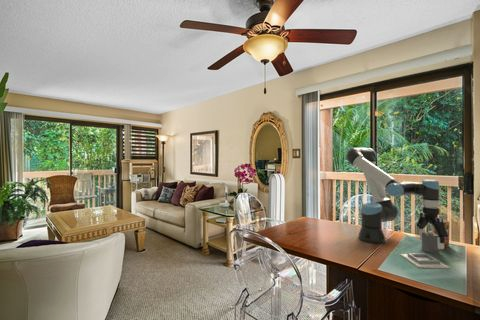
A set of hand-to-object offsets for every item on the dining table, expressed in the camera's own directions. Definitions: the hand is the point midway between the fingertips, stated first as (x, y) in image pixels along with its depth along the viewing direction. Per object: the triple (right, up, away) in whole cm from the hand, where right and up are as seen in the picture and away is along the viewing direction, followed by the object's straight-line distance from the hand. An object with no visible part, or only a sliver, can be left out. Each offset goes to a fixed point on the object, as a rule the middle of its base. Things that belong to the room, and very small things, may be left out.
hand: (431, 244), depth 131 cm
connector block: (0, -5, 0) cm, 5 cm away
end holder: (-14, -5, -12) cm, 19 cm away
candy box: (+12, -4, +7) cm, 15 cm away
